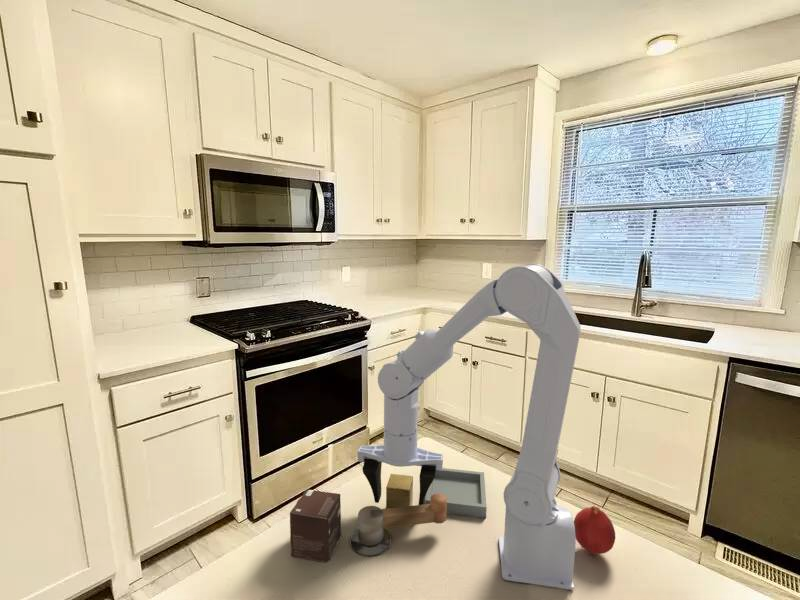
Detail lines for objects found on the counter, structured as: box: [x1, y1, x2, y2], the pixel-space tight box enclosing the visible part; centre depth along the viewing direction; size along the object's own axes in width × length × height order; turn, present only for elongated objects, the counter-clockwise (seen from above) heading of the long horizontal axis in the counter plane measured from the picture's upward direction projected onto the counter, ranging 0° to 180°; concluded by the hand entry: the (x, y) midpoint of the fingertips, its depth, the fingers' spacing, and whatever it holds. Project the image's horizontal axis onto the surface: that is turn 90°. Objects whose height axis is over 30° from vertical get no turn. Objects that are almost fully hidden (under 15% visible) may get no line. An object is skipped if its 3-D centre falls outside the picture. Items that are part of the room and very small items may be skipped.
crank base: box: [349, 527, 392, 558], centre depth 62 cm, size 6×6×1 cm
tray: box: [424, 467, 488, 519], centre depth 74 cm, size 11×11×2 cm
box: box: [289, 489, 342, 563], centre depth 61 cm, size 6×6×7 cm
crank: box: [357, 494, 447, 546], centre depth 63 cm, size 14×4×5 cm, turn 100°
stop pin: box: [385, 473, 414, 509], centre depth 68 cm, size 4×4×6 cm
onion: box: [573, 505, 616, 556], centre depth 60 cm, size 6×6×8 cm
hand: (399, 501), depth 69 cm, fingers open, 7 cm apart
